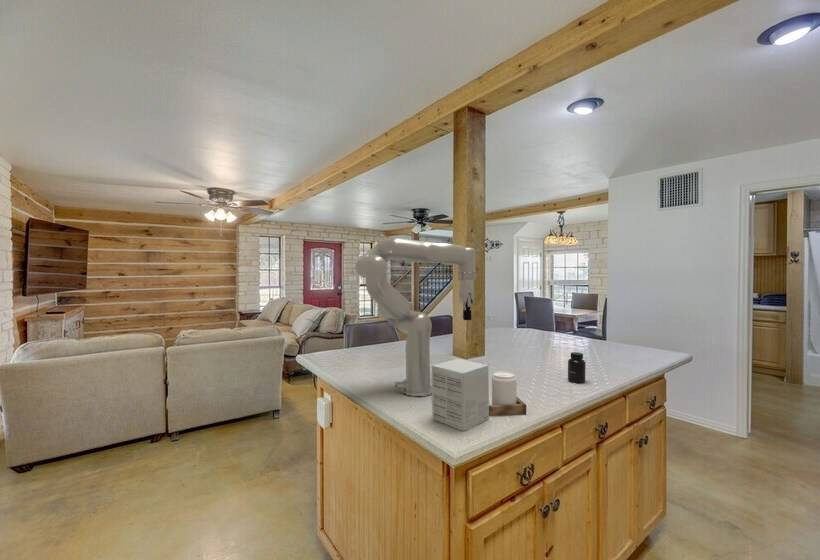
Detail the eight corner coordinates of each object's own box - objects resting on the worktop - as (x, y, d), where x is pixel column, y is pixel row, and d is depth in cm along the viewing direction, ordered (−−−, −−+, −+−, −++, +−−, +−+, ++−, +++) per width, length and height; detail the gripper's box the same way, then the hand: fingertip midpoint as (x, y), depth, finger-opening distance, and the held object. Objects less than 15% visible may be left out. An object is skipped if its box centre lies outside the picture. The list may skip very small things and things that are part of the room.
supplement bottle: (568, 382, 152) (567, 354, 152) (567, 378, 158) (567, 351, 158) (586, 384, 149) (586, 355, 149) (585, 379, 156) (584, 352, 156)
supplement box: (457, 408, 126) (457, 358, 125) (489, 419, 116) (489, 364, 116) (431, 419, 117) (430, 365, 116) (463, 432, 107) (463, 373, 107)
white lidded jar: (521, 411, 122) (521, 376, 121) (500, 415, 119) (500, 378, 119) (508, 403, 129) (507, 370, 129) (487, 406, 127) (487, 372, 127)
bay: (486, 416, 118) (486, 407, 118) (476, 402, 130) (476, 394, 130) (526, 414, 120) (526, 405, 120) (512, 401, 132) (512, 392, 132)
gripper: (454, 276, 162) (455, 317, 162) (461, 277, 147) (461, 322, 147) (471, 276, 162) (472, 317, 163) (479, 276, 147) (480, 322, 148)
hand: (467, 319), depth 155 cm, fingers closed
